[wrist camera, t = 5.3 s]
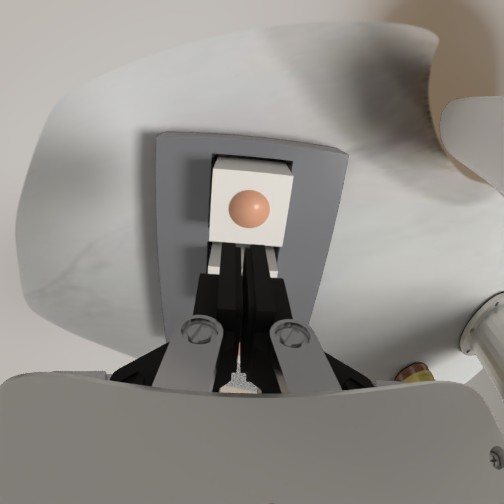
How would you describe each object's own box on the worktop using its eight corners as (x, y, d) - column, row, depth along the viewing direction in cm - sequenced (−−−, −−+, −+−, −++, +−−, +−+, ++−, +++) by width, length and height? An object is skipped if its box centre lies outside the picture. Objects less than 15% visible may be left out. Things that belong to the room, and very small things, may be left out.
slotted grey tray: (337, 148, 23) (349, 155, 20) (293, 343, 34) (296, 362, 31) (166, 131, 22) (156, 136, 19) (172, 334, 32) (167, 354, 30)
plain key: (273, 245, 25) (278, 271, 21) (265, 293, 27) (268, 323, 24) (213, 240, 25) (207, 266, 21) (211, 289, 27) (206, 319, 23)
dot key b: (285, 162, 22) (293, 176, 18) (276, 223, 24) (282, 247, 20) (218, 156, 21) (212, 168, 18) (214, 218, 24) (208, 241, 20)
